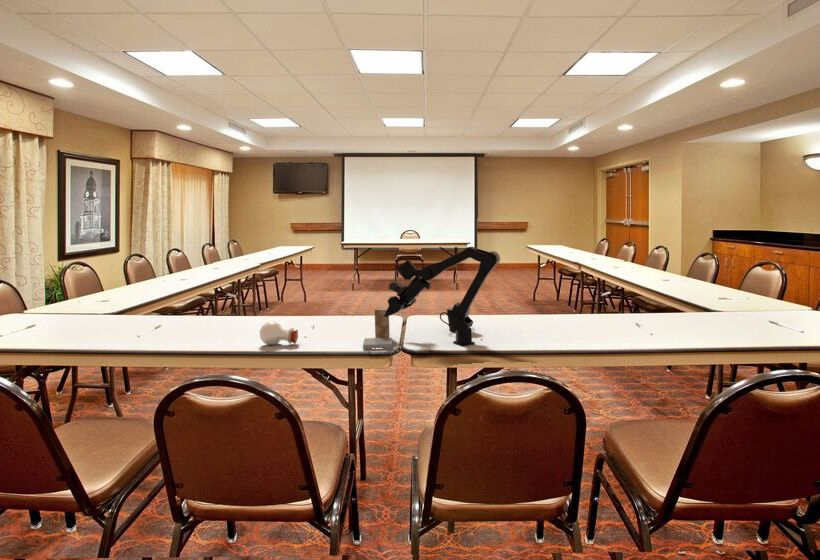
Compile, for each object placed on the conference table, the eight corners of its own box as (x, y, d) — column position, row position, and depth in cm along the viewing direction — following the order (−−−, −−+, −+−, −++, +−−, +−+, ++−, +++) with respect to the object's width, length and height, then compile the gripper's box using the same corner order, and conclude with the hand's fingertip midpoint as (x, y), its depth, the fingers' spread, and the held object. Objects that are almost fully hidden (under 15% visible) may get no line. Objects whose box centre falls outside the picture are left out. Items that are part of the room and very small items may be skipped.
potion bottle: (260, 347, 217) (295, 351, 216) (253, 337, 209) (290, 342, 207) (266, 326, 222) (301, 330, 220) (259, 316, 213) (295, 321, 212)
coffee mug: (466, 328, 237) (466, 306, 236) (466, 332, 228) (466, 309, 227) (440, 328, 238) (440, 306, 237) (439, 332, 229) (439, 310, 228)
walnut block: (389, 337, 223) (388, 308, 221) (385, 340, 218) (384, 310, 217) (379, 337, 224) (378, 307, 223) (375, 339, 220) (374, 309, 219)
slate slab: (391, 342, 214) (391, 337, 214) (391, 349, 203) (391, 343, 203) (364, 343, 214) (364, 338, 213) (363, 349, 203) (362, 344, 202)
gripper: (408, 272, 224) (385, 296, 229) (391, 277, 206) (366, 303, 211) (426, 291, 222) (402, 315, 227) (411, 297, 205) (385, 324, 210)
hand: (389, 314), depth 219 cm, fingers open, 9 cm apart
